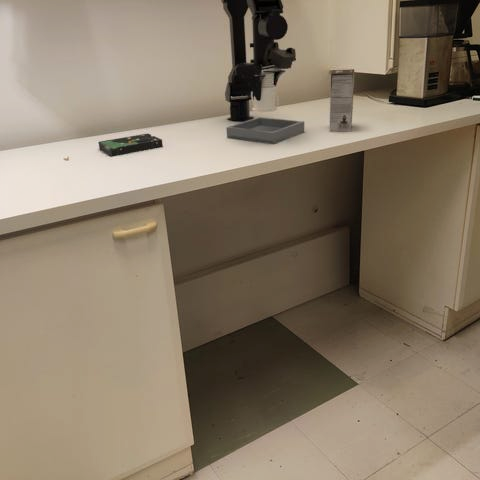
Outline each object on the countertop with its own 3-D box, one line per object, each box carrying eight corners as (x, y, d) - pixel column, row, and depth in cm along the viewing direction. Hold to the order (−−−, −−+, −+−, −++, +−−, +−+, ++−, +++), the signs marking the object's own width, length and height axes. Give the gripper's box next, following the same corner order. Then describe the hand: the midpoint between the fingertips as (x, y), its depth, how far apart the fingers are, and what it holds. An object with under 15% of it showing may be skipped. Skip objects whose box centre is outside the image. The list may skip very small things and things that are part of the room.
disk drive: (148, 142, 140) (98, 151, 132) (147, 133, 138) (97, 141, 131) (163, 149, 132) (111, 158, 125) (162, 139, 130) (109, 147, 123)
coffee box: (330, 125, 147) (331, 69, 140) (351, 124, 145) (354, 68, 139) (329, 131, 139) (330, 73, 132) (351, 131, 137) (354, 72, 130)
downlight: (246, 111, 134) (247, 73, 130) (255, 106, 140) (256, 70, 136) (273, 113, 132) (275, 75, 127) (282, 109, 137) (283, 72, 133)
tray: (259, 126, 149) (259, 117, 148) (304, 132, 140) (304, 121, 138) (227, 137, 138) (226, 127, 136) (273, 144, 128) (273, 132, 127)
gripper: (268, 41, 117) (269, 106, 123) (308, 35, 130) (307, 95, 136) (232, 41, 123) (235, 103, 130) (273, 36, 136) (274, 93, 143)
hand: (264, 98), depth 134 cm, fingers closed on downlight, 6 cm apart
